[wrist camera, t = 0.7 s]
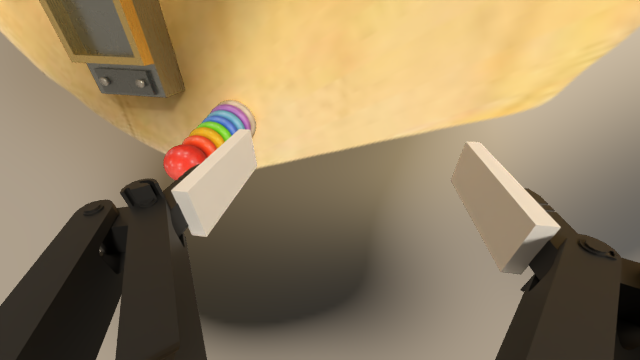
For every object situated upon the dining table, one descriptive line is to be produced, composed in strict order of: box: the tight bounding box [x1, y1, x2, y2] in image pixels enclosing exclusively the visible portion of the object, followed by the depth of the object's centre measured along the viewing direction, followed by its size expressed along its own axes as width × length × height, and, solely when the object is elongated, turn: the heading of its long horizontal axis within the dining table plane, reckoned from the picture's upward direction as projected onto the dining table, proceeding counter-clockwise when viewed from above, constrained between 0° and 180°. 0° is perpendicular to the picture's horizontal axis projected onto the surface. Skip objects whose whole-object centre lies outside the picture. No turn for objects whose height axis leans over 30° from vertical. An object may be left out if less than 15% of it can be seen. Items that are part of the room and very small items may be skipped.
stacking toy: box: [164, 100, 256, 180], centre depth 36 cm, size 8×8×19 cm
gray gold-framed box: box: [39, 0, 185, 97], centre depth 34 cm, size 18×12×7 cm, turn 179°
